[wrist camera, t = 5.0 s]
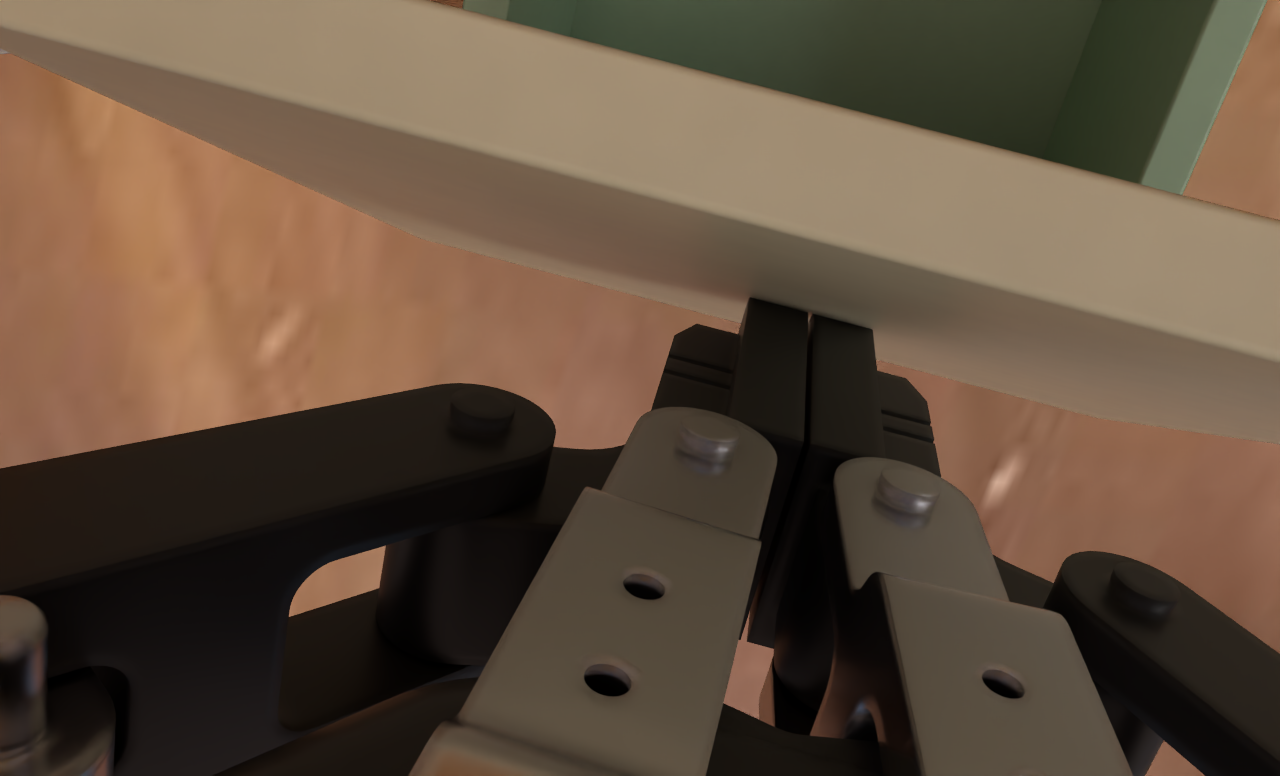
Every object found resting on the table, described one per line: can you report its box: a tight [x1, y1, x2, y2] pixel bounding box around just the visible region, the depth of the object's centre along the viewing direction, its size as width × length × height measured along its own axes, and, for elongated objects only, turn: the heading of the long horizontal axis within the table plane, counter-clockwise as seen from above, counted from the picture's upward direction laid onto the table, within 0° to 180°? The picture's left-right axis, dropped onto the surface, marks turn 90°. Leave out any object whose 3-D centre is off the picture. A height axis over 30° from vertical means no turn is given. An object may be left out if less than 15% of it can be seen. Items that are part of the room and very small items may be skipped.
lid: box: [0, 0, 1280, 444], centre depth 14 cm, size 14×13×1 cm
